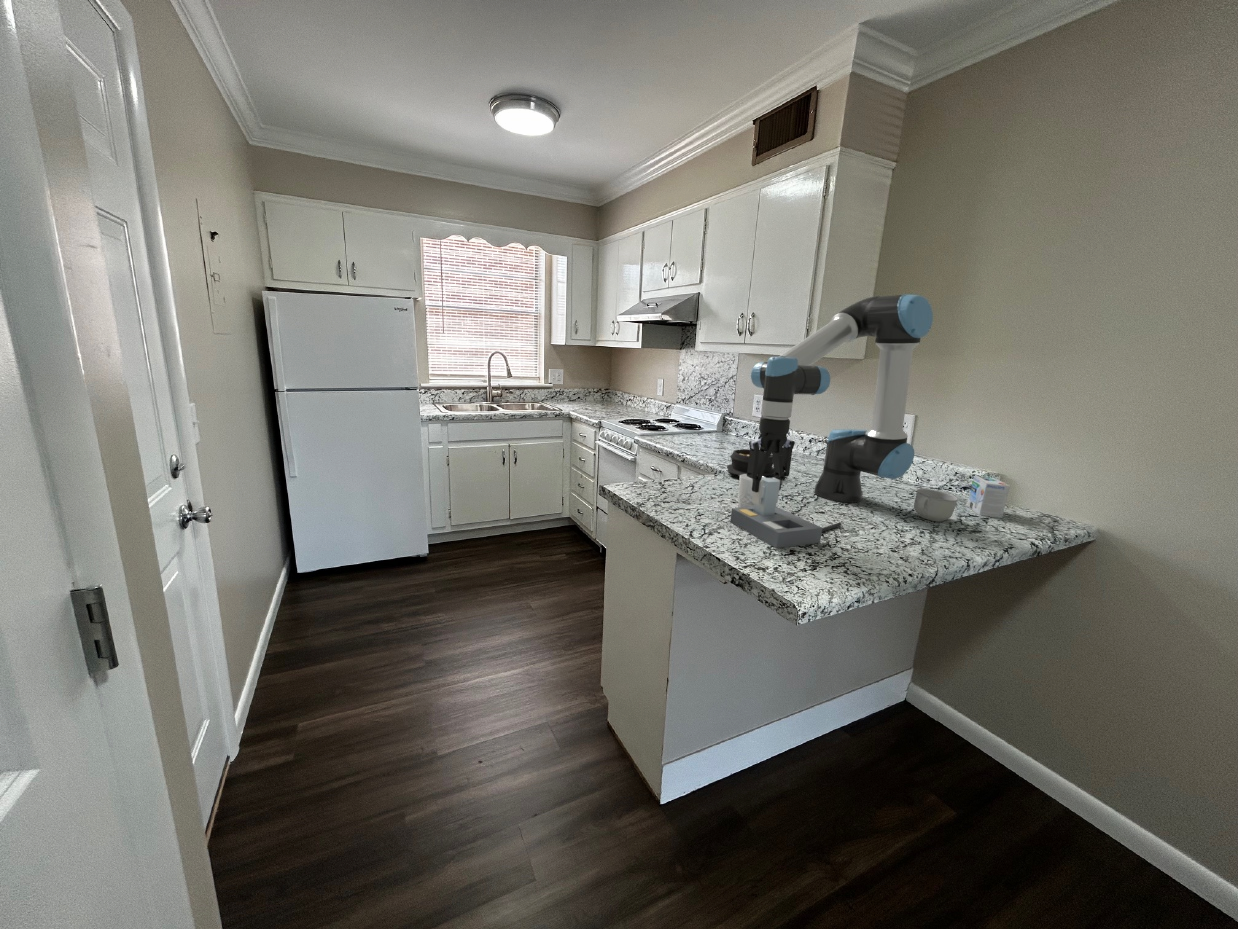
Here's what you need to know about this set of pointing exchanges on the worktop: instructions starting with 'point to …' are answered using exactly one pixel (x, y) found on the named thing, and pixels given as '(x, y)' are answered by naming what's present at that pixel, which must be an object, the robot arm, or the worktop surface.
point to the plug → (768, 497)
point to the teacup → (934, 504)
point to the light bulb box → (988, 496)
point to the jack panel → (777, 527)
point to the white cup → (745, 491)
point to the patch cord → (831, 527)
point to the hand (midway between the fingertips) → (764, 502)
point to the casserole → (741, 463)
